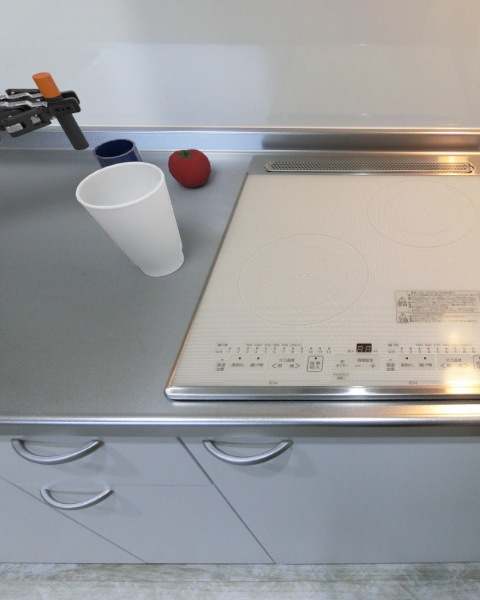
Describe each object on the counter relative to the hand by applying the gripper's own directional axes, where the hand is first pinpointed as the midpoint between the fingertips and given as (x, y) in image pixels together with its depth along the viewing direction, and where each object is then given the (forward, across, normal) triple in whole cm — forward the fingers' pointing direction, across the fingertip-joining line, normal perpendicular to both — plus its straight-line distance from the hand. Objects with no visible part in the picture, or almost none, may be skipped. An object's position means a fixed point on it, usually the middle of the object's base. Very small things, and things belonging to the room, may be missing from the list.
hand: (77, 100), depth 72 cm
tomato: (+13, +1, +20) cm, 24 cm away
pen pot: (+1, +7, +20) cm, 21 cm away
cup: (+3, -21, +20) cm, 30 cm away
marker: (-3, 0, +8) cm, 8 cm away
